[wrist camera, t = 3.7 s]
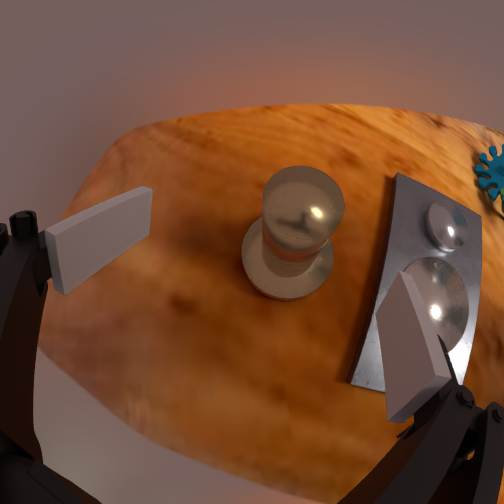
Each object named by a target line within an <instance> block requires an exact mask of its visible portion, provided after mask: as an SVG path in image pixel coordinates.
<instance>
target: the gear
mask: <svg viewBox="0 0 504 504" xmlns="http://www.w3.org/2000/svg"><path fill="white" fill-rule="evenodd" d="M489 153H490V155H491V156H492V157H493V160H492V161H488V160H487V155H486V154H485V153H482V154H480V155H479V160H480V162H481V163H483V164H485V165H486V166H487V167H488V168H489V169H488V170H485V169H484V168H483V166H482V165H481V164H477V166H476V169H475V170H476V174H477V175H485V176H487V177H489V178H490V180H487V179H485V178H484V177H480V178H479V184H480V188H481V189H485V188H486V187H488V186H495V187H497V189H493V188H491V189H489V190H488V195H489V197H490V198H491V200H493V201H495V200H496V199H497V196H498V195H499V194H501V200H502V212H503V213H504V144H503V145H502V154H501V155H500V156H496V155H497V149H496V147H495V146H491V147H489Z"/></svg>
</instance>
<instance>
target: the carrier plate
mask: <svg viewBox="0 0 504 504" xmlns="http://www.w3.org/2000/svg"><path fill="white" fill-rule="evenodd" d="M481 270H482V221H481V216H480V215H479V214H477V213H475V212H474V211H472V210H470V209H469V208H467V207H465V206H463V205H462V204H460V203H458V202H456V201H454V200H453V199H451V198H449V197H447V196H445V195H443V194H442V193H440V192H438V191H436V190H434V189H432V188H430V187H428V186H426V185H424V184H422V183H420V182H418V181H416V180H413V179H411V178H409V177H407V176H405V175H403V174H400V173H398V172H397V173H396V175H395V176H394V178H393V182H392V191H391V200H390V208H389V215H388V222H387V228H386V234H385V240H384V245H383V251H382V256H381V261H380V266H379V270H378V275H377V279H376V284H375V288H374V292H373V296H372V300H371V304H370V308H369V312H368V315H367V319H366V322H365V326H364V329H363V333H362V336H361V339H360V342H359V345H358V349H357V352H356V355H355V358H354V361H353V364H352V366H351V369H350V372H349V375H348V378H347V380H346V382H347V383H349V384H352V385H356V386H360V387H365V388H369V389H373V390H378V391H383V392H385V382H384V373H383V364H382V356H381V348H380V341H379V334H378V328H377V322H376V316H375V313H376V311H377V309H378V308H379V306H380V304H381V303H382V301H383V299H384V297H385V296H386V294H387V292H388V290H389V288H390V287H391V285H392V283H393V281H394V279H395V277H396V275H397V274H398V272H399V271H402V272H404V273H407V274H410V275H412V277H413V280H414V282H415V284H416V286H417V288H418V290H419V293H420V295H421V297H422V299H423V302H424V304H425V306H426V309H427V311H428V313H429V316H430V318H431V321H432V323H433V326H434V328H435V331H436V334H438V335H439V336H440V337H441V339H442V340H443V342H444V343H445V345H446V348H447V351H448V354H449V356H450V359H451V360H450V361H451V362H452V365H453V368H454V371H455V374H456V378H457V381H458V384H460V385H462V383H463V379H464V376H465V372H466V368H467V365H468V360H469V356H470V352H471V347H472V342H473V337H474V332H475V326H476V320H477V313H478V305H479V296H480V285H481Z"/></svg>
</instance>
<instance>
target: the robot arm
mask: <svg viewBox="0 0 504 504" xmlns="http://www.w3.org/2000/svg"><path fill="white" fill-rule="evenodd" d="M152 196H153V189H151V188H148V187H144V186H141V187H138V188H136V189H133V190H130V191H128V192H125V193H123V194H120V195H118V196H115V197H113V198H111V199H108V200H106V201H104V202H101V203H99V204H97V205H94V206H92V207H90V208H88V209H85V210H83V211H81V212H79V213H77V214H75V215H73V216H70V217H68V218H66V219H64V220H62V221H60V222H58V223H56V224H54V225H52V226H50V227H48V228H46V229H45V230H44V231H42V232H40V233H38V226H37V218H36V213H35V212H33V211H28V210H27V211H21V212H18V213H15V214H14V215H12V216H11V217H10V218H9V220H10V226H11V233H12V236H11V235H8V231H7V225H6V224H3V223H0V504H102V503H101V502H99V501H98V500H97V499H96V498H94V497H93V496H91V495H89V494H88V493H86V492H85V491H84V490H82V489H81V488H79V487H78V486H77V485H75V484H74V483H73V482H71V481H69V480H67V479H66V478H64V477H63V476H61V475H59V474H58V473H56V472H55V471H53V470H52V469H50V468H48V467H47V466H46V465H44V464H43V458H42V452H41V447H40V444H39V441H38V439H37V437H36V435H35V432H34V427H33V390H34V389H33V388H34V372H35V361H36V351H37V344H38V337H39V330H40V324H41V319H42V313H43V308H44V304H45V299H46V295H47V290H48V283H47V280H48V279H50V278H51V277H52V279H53V284H54V288H55V289H56V290H57V291H59V292H60V293H62V294H63V295H65V296H66V295H67V294H68V293H70V292H71V291H72V290H74V289H75V288H76V287H77V286H79V285H80V284H81V283H83V282H84V281H85V280H87V279H88V278H89V277H91V276H92V275H93V274H95V273H96V272H97V271H99V270H100V269H101V268H103V267H104V266H106V265H107V264H108V263H110V262H111V261H113V260H114V259H115V258H117V257H118V256H120V255H121V254H122V253H124V252H125V251H127V250H128V249H130V248H131V247H133V246H134V245H136V244H137V243H138V242H140V241H141V240H143V239H144V238H146V237H147V236H149V234H150V219H151V207H152ZM375 316H376V322H377V328H378V334H379V341H380V348H381V356H382V364H383V373H384V382H385V394H386V408H387V421H391V422H399V423H404V422H405V421H406V420H407V419H409V418H410V417H411V416H412V415H414V423H413V424H412V425H411V426H409V427H408V428H407V429H406V430H404V431H403V432H402V433H400V434H399V435H398V436H396V437H397V438H399V437H401V438H400V439H399V440H398V441H397V443H396V444H395V445H394V446H393V447H392V449H391V450H390V451H389V452H388V453H387V454H386V456H385V457H384V458H383V459H382V460H381V461H380V462H379V463H378V464H377V466H376V467H375V468H374V469H373V470H372V471H371V472H370V473H369V474H368V475H367V476H366V477H365V478H364V479H363V480H362V481H361V482H360V483H359V484H358V485H357V486H356V487H355V488H354V489H353V490H352V491H350V492H349V493H348V494H347V495H346V496H345V497H344V498H343V499H342V500H340V501H339V502H338V503H337V504H497V500H498V495H499V491H500V486H501V480H502V474H503V467H504V409H503V407H502V406H500V405H499V404H498V403H496V402H491V403H490V404H489V405H488V406H487V407H486V408H485V409H484V410H483V409H481V408H479V407H477V406H475V399H474V397H473V395H472V393H471V392H470V391H469V389H468V388H466V387H465V386H463V385H460V384H458V381H457V378H456V374H455V371H454V368H453V365H452V362H451V361H450V360H451V359H450V356H449V354H448V351H447V348H446V345H445V343H444V342H443V340H442V339H441V337H440V336H439V335H438V334H436V331H435V328H434V326H433V323H432V321H431V318H430V316H429V313H428V311H427V309H426V306H425V304H424V302H423V299H422V297H421V295H420V293H419V290H418V288H417V286H416V284H415V282H414V280H413V277H412V275H410V274H407V273H404V272H402V271H399V272H398V274H397V275H396V277H395V279H394V281H393V283H392V285H391V287H390V288H389V290H388V292H387V294H386V296H385V297H384V299H383V301H382V303H381V304H380V306H379V308H378V309H377V311H376V313H375ZM473 451H474V455H473V457H472V458H471V459H469V460H467V458H468V455H469V454H470V453H472V452H473Z"/></svg>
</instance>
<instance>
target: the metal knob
mask: <svg viewBox="0 0 504 504" xmlns="http://www.w3.org/2000/svg"><path fill="white" fill-rule="evenodd" d="M343 214H344V198H343V194H342V192H341V190H340V188H339V186H338V185H337V184H336V182H335V181H334V180H333V179H332V178H331V177H330V176H328V175H327V174H326V173H324V172H322V171H320V170H318V169H315V168H312V167H308V166H292V167H288V168H285V169H282V170H280V171H279V172H277V173H276V174H274V175H273V176H272V177H271V178H270V179H269V181H268V182H267V184H266V186H265V189H264V192H263V215H262V217H260V218H259V219H257V220H256V221H255V222H254V223H253V224H252V225H251V226H250V228H249V229H248V231H247V233H246V235H245V237H244V240H243V244H242V261H243V266H244V270H245V273H246V276H247V278H248V280H249V282H250V283H251V284H252V286H253V287H254V288H255V289H256V290H257V291H258V292H260V293H261V294H262V295H264V296H266V297H268V298H270V299H273V300H276V301H282V302H290V301H296V300H300V299H302V298H305V297H307V296H308V295H310V294H311V293H313V292H314V291H315V290H316V289H317V288H319V287H320V286H321V285H322V284H323V282H324V281H325V280H326V278H327V277H328V275H329V273H330V271H331V268H332V264H333V257H334V253H333V246H332V242H331V239H330V237H331V235H332V234H333V232H334V230H335V229H336V227H337V226H338V224H339V223H340V221H341V219H342V217H343Z"/></svg>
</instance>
